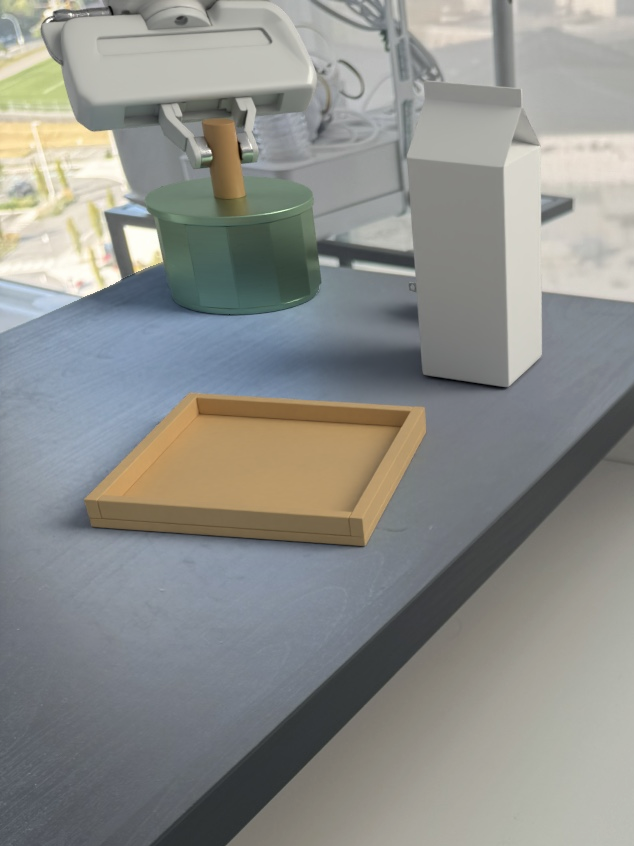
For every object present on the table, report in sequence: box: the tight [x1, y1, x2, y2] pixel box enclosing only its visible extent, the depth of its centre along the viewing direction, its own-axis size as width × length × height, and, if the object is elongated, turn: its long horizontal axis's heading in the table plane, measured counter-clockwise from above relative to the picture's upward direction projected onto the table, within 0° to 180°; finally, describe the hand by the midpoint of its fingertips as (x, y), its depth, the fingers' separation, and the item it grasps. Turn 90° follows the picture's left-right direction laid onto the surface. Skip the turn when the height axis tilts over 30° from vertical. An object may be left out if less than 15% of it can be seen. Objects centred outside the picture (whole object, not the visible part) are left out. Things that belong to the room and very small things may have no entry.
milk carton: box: [406, 79, 543, 388], centre depth 84 cm, size 7×7×19 cm
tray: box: [83, 392, 427, 547], centre depth 74 cm, size 17×17×2 cm
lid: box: [144, 119, 315, 226], centre depth 97 cm, size 14×14×7 cm
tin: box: [153, 206, 322, 316], centre depth 101 cm, size 13×13×7 cm
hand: (227, 161), depth 96 cm, fingers closed on lid, 2 cm apart
